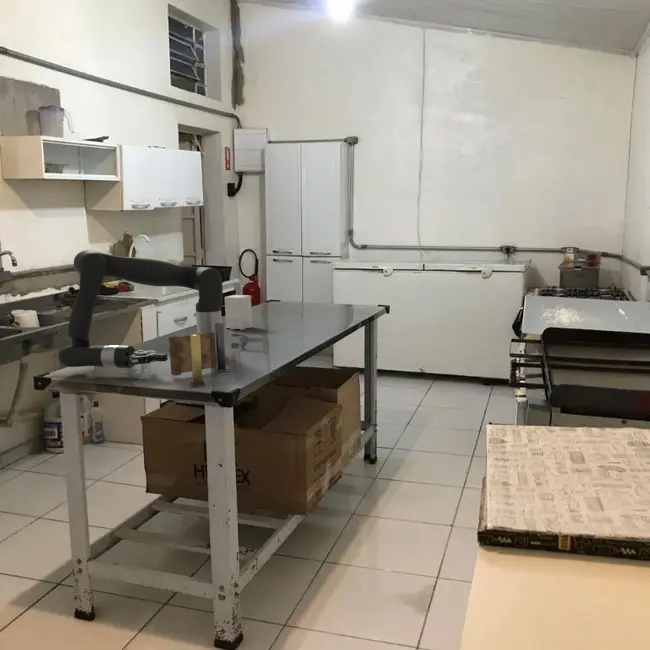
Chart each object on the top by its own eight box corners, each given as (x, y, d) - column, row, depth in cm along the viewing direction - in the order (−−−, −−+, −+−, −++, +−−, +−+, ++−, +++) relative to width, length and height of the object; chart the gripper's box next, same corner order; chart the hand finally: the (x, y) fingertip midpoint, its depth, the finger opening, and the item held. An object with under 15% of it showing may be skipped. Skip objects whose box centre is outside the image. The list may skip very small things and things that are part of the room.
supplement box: (252, 327, 322) (251, 295, 320) (241, 330, 314) (240, 297, 312) (236, 326, 326) (235, 294, 324) (225, 329, 319) (224, 296, 316)
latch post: (191, 384, 219) (188, 334, 216) (203, 383, 219) (201, 333, 217) (191, 387, 215) (188, 336, 212) (204, 386, 216) (202, 335, 213)
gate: (213, 367, 237) (211, 330, 235) (217, 368, 235) (215, 331, 233) (168, 375, 226) (165, 337, 224) (171, 376, 225) (169, 338, 222)
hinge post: (213, 368, 239) (210, 323, 237) (228, 367, 240) (226, 322, 238) (214, 372, 234) (212, 325, 232) (229, 371, 235) (227, 324, 233)
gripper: (107, 349, 225) (156, 350, 221) (127, 341, 237) (174, 342, 234) (109, 372, 226) (158, 373, 222) (128, 363, 239) (175, 364, 235)
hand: (166, 357), depth 228 cm, fingers closed
